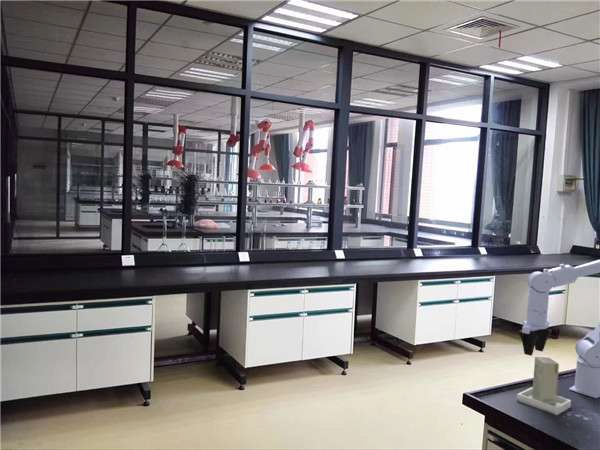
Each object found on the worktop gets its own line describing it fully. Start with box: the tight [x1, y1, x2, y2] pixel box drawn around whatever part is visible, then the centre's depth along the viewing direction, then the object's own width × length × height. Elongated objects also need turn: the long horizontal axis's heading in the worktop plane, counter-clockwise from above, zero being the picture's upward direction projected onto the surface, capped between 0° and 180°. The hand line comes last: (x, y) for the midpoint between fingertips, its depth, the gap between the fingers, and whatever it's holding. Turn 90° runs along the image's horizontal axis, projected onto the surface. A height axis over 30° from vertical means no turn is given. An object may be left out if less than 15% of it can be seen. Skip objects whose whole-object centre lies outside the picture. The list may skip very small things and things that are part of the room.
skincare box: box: [532, 356, 560, 406], centre depth 141 cm, size 6×4×12 cm
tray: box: [516, 386, 572, 416], centre depth 142 cm, size 9×11×2 cm
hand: (533, 352), depth 156 cm, fingers open, 7 cm apart
